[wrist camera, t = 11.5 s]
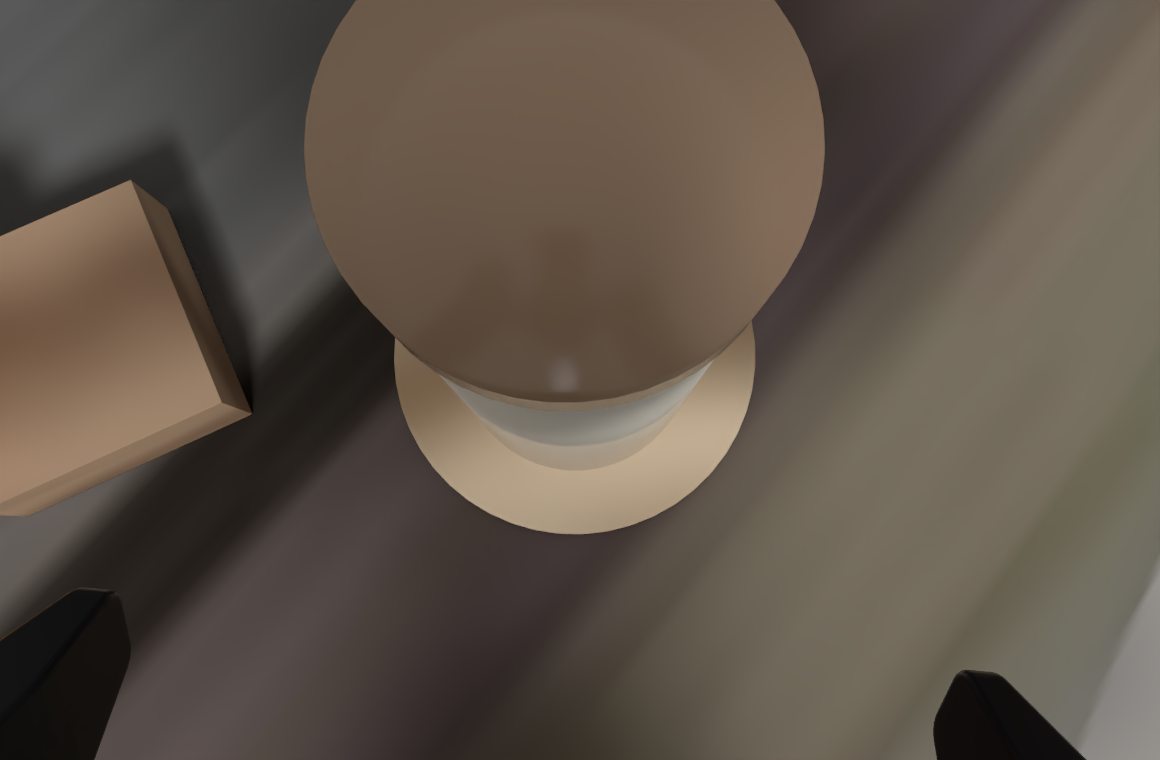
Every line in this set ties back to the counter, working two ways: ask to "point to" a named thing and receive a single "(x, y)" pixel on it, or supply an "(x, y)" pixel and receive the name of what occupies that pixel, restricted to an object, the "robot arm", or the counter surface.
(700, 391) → the coaster
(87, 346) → the tile
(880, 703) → the counter surface
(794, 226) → the jar
